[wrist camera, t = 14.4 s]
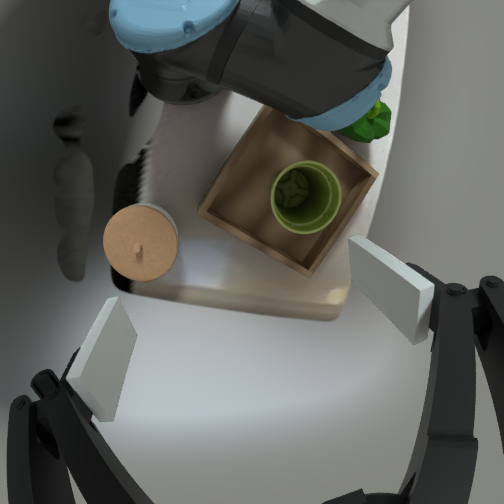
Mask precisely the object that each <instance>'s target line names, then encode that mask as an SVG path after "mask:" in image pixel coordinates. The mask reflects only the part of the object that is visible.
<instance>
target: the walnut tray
mask: <svg viewBox="0 0 504 504" xmlns="http://www.w3.org/2000/svg"><path fill="white" fill-rule="evenodd" d="M299 161H315V162H318V163H321V164H323V165H325V166H326V167H328V168H329V169H330V170H331V171H332V172H333V173H334V174H335V176H336V177H337V179H338V181H339V184H340V187H341V204H340V207H339V210H338V212H337V214H336V216H335V217H334V219H333V220H332V221H331V222H330V223H329V224H328V225H327V226H326V227H324V228H323V229H321V230H319V231H317V232H314V233H310V234H298V233H295V232H292V231H290V230H288V229H286V228H285V227H283V226H282V225H281V224H280V223H279V222H278V220H277V219H276V217H275V215H274V213H273V210H272V207H271V192H270V186H271V182H272V180H273V178H274V176H275V175H276V174H277V173H278V172H280V171H282V170H284V169H285V168H286V167H288V166H289V165H291V164H293V163H296V162H299ZM284 175H286V173H285V174H284ZM284 175H283V176H284ZM378 175H379V173H378V172H377V171H376V170H375V169H374V168H372V167H371V166H370V165H369V164H368V163H367V162H366V161H364V160H363V159H362V158H361V157H360V156H359V155H357V154H356V153H355V152H354V151H353V150H351V149H350V148H349V147H348V146H347V145H345V144H344V143H343V142H342V141H340V140H339V139H338V138H337V137H335V136H334V135H333V134H332V133H330V132H329V131H322V130H317V129H315V128H313V127H310V126H308V125H306V124H304V123H302V122H297V121H293V120H291V119H289V118H287V117H286V116H285V114H283V113H281V112H279V111H277V110H275V109H273V108H271V107H268V106H266V105H263V107H262V108H261V109H260V111H259V112H258V114H257V115H256V117H255V118H254V120H253V121H252V123H251V124H250V126H249V127H248V129H247V130H246V132H245V133H244V135H243V136H242V138H241V139H240V141H239V142H238V144H237V145H236V147H235V148H234V150H233V151H232V153H231V155H230V156H229V158H228V159H227V161H226V162H225V164H224V166H223V167H222V169H221V170H220V172H219V174H218V175H217V177H216V178H215V180H214V182H213V183H212V185H211V187H210V188H209V190H208V191H207V193H206V195H205V196H204V198H203V200H202V201H201V203H200V205H199V207H198V210H197V215H199V216H201V217H202V218H204V219H206V220H208V221H209V222H211V223H213V224H215V225H216V226H218V227H220V228H222V229H224V230H225V231H227V232H229V233H231V234H232V235H234V236H236V237H238V238H239V239H241V240H243V241H245V242H247V243H248V244H250V245H252V246H254V247H255V248H257V249H259V250H261V251H262V252H264V253H266V254H268V255H269V256H271V257H273V258H275V259H276V260H278V261H280V262H282V263H283V264H285V265H287V266H289V267H290V268H292V269H294V270H296V271H297V272H299V273H301V274H303V275H304V276H306V277H308V278H310V277H311V276H312V275H313V273H314V272H315V270H316V269H317V268H318V266H319V265H320V263H321V262H322V260H323V259H324V258H325V256H326V255H327V253H328V252H329V250H330V249H331V247H332V246H333V244H334V243H335V241H336V240H337V239H338V237H339V236H340V234H341V233H342V231H343V230H344V228H345V227H346V225H347V224H348V222H349V221H350V219H351V217H352V216H353V214H354V213H355V211H356V210H357V208H358V207H359V205H360V204H361V202H362V200H363V199H364V197H365V196H366V194H367V193H368V191H369V189H370V188H371V186H372V185H373V183H374V181H375V180H376V178H377V177H378ZM300 179H301V180H302V182H303V184H305V182H304V180H303V178H302V177H300ZM289 190H292V188H291V187H289ZM274 194H275V196H276V197H277V199H278V200H279V199H280V198H279V197H278V196H277V194H276V192H275V193H274ZM299 201H300V198H299V199H298V200H296V201H294V202H293V203H297V202H299Z"/></svg>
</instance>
